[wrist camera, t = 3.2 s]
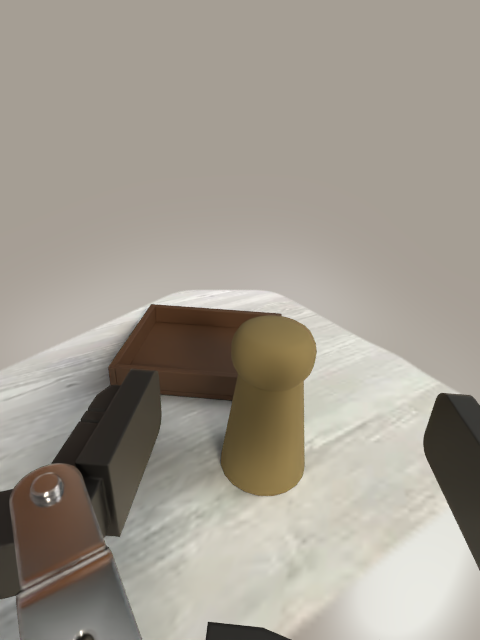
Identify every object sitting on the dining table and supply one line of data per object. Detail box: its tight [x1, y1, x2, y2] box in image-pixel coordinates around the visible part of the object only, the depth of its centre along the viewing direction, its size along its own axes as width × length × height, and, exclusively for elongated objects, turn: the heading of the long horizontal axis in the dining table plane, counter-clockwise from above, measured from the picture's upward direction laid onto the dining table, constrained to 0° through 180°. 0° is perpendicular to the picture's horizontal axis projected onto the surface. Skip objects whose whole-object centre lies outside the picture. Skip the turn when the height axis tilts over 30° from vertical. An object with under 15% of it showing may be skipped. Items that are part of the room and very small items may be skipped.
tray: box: [108, 304, 282, 400], centre depth 39 cm, size 15×13×2 cm
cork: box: [221, 315, 317, 496], centre depth 25 cm, size 6×6×11 cm
